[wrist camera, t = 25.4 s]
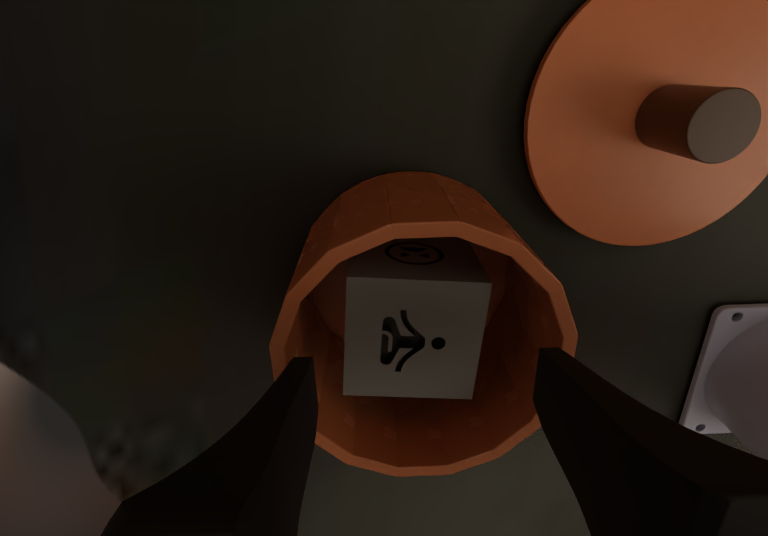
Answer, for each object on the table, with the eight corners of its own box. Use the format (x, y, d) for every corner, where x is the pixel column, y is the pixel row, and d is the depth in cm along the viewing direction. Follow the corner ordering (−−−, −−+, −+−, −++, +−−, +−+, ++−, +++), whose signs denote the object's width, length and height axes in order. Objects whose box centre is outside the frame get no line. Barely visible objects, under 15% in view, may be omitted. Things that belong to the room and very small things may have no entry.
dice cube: (352, 228, 20) (346, 276, 15) (464, 234, 20) (492, 283, 16) (348, 326, 22) (342, 394, 17) (451, 330, 22) (472, 399, 18)
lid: (827, -46, 17) (970, -81, 13) (740, 233, 21) (826, 272, 17) (533, -38, 16) (584, -72, 12) (507, 241, 21) (540, 282, 17)
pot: (523, 167, 19) (599, 216, 13) (504, 361, 23) (555, 470, 17) (290, 174, 19) (249, 227, 13) (311, 368, 23) (289, 482, 17)
